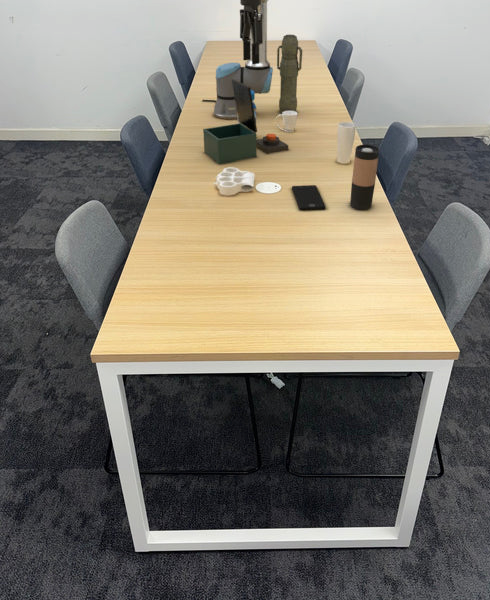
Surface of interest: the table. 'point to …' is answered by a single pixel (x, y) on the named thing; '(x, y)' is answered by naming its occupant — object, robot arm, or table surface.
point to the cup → (288, 120)
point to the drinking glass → (345, 141)
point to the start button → (271, 137)
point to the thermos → (289, 72)
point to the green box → (229, 143)
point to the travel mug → (364, 176)
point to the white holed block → (234, 181)
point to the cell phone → (308, 197)
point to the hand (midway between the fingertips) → (251, 61)
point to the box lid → (244, 105)
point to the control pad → (271, 145)
